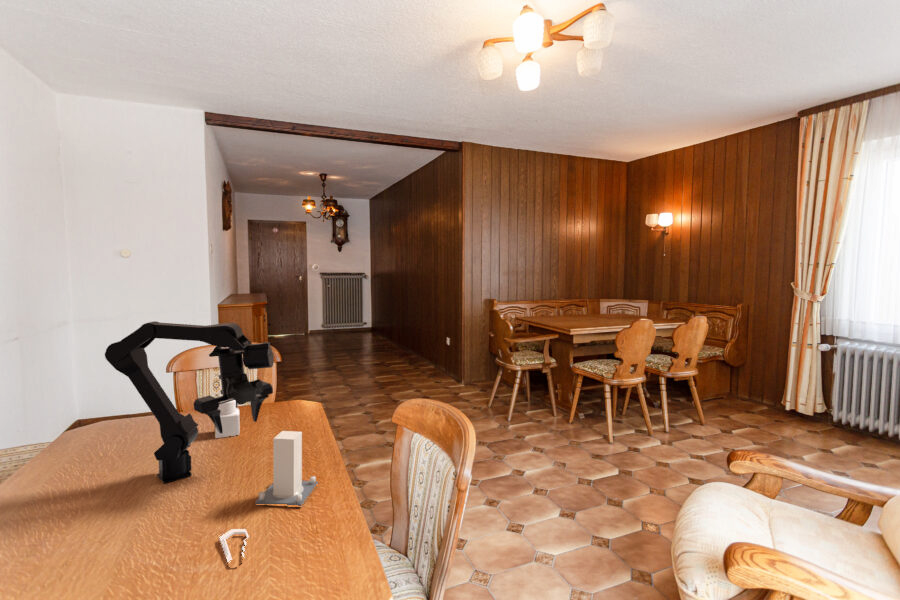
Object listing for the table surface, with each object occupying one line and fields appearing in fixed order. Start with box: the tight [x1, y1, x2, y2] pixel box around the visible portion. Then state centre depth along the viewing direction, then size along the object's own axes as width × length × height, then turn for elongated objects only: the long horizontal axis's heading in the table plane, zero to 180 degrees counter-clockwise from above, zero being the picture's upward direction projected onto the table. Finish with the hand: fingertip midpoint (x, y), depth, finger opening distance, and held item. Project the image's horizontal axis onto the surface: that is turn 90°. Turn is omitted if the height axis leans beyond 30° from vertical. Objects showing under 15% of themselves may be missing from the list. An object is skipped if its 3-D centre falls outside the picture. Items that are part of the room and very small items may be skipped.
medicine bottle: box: [214, 400, 240, 439], centre depth 147 cm, size 7×7×12 cm
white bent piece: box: [218, 528, 250, 563], centre depth 89 cm, size 13×5×2 cm, turn 36°
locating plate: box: [255, 475, 319, 506], centre depth 110 cm, size 11×11×2 cm
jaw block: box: [272, 430, 303, 496], centre depth 109 cm, size 5×5×14 cm
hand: (238, 427), depth 120 cm, fingers open, 9 cm apart
